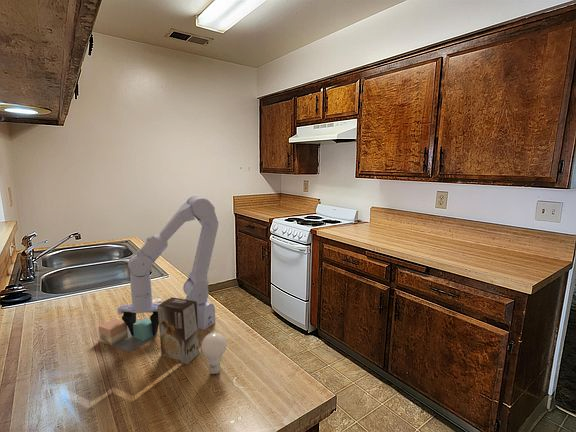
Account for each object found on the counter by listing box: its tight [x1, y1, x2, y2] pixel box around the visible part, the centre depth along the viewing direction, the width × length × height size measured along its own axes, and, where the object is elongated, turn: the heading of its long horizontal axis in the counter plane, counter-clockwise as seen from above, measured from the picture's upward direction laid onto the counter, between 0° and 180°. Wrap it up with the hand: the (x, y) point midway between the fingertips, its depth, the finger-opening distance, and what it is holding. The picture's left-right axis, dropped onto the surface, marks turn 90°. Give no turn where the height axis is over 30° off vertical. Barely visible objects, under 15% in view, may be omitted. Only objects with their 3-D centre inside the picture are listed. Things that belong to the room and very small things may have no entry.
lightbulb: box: [200, 332, 227, 375], centre depth 84 cm, size 6×6×11 cm
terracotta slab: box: [98, 318, 127, 338], centre depth 99 cm, size 6×6×2 cm
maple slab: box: [98, 330, 128, 346], centre depth 99 cm, size 6×6×2 cm
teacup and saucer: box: [152, 297, 162, 304], centre depth 127 cm, size 9×8×4 cm
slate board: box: [97, 326, 160, 353], centre depth 100 cm, size 14×11×1 cm
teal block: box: [133, 317, 153, 341], centre depth 101 cm, size 4×4×4 cm
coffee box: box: [158, 296, 201, 365], centre depth 91 cm, size 9×6×16 cm
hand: (144, 334), depth 101 cm, fingers closed on teal block, 6 cm apart
